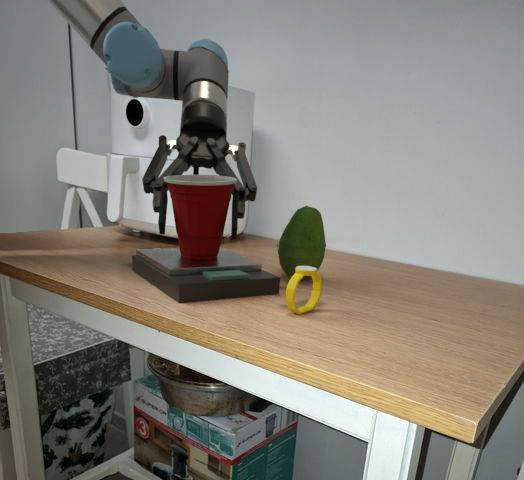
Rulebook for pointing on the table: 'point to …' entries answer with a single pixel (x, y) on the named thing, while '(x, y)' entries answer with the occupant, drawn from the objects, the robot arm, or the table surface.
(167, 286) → the scale
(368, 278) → the table surface
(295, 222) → the avocado
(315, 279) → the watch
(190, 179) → the plastic cup
